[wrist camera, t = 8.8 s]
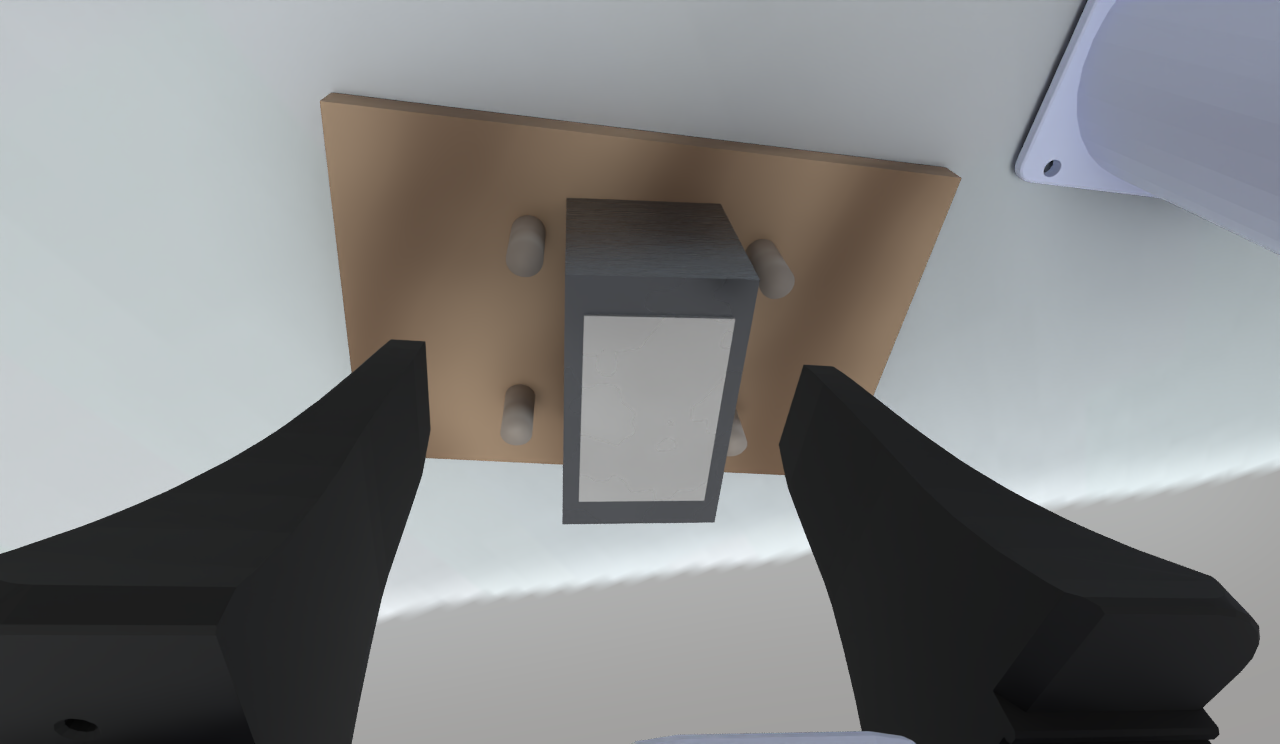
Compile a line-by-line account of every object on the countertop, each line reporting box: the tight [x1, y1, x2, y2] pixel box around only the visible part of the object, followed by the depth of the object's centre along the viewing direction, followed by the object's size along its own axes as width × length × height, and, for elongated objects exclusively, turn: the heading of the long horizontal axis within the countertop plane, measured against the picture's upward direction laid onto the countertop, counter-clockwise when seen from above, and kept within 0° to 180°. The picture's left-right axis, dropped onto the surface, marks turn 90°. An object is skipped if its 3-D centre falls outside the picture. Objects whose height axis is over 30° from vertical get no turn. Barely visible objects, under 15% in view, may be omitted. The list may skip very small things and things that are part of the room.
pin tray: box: [320, 93, 961, 475], centre depth 21 cm, size 18×12×3 cm, turn 82°
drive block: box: [563, 198, 760, 524], centre depth 20 cm, size 4×8×5 cm, turn 176°
